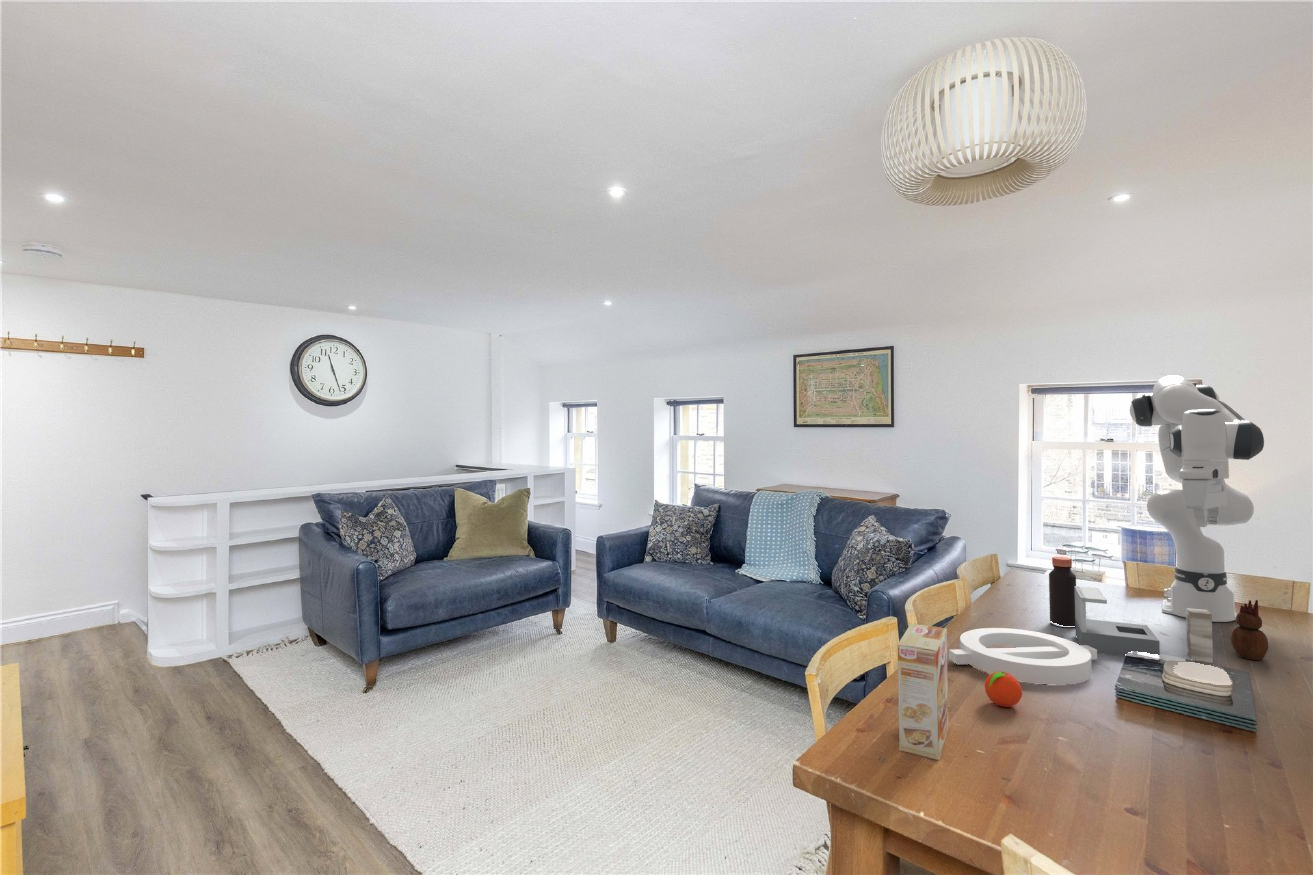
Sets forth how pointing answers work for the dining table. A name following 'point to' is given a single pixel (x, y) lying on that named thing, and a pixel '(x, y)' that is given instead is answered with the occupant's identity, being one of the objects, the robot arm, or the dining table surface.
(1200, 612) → the peg
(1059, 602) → the bottle
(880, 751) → the dining table surface
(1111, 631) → the socket block
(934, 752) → the coffeecake box
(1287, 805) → the dining table surface
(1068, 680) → the ring with crossbar
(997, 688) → the clementine
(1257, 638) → the wooden figurine
